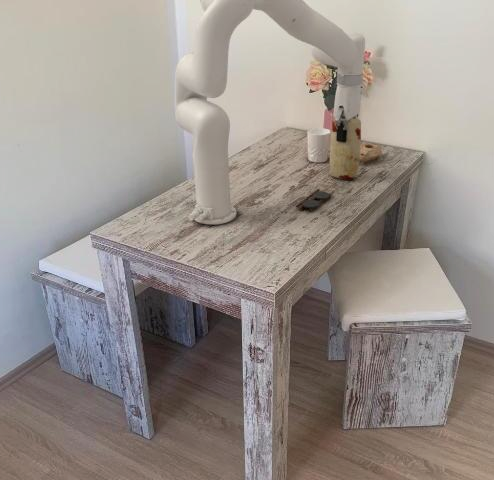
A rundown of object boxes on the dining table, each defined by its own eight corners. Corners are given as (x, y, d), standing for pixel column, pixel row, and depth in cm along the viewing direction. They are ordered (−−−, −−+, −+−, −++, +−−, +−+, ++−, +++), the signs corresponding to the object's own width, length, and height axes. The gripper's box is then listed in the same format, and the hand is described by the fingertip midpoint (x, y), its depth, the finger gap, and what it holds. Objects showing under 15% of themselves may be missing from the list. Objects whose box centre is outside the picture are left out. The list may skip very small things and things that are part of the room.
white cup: (327, 164, 198) (328, 135, 193) (305, 162, 200) (305, 134, 194) (330, 156, 205) (331, 128, 200) (308, 154, 206) (309, 127, 201)
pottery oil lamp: (348, 164, 197) (346, 143, 197) (364, 165, 207) (362, 145, 206) (371, 159, 192) (369, 138, 191) (386, 161, 202) (384, 141, 201)
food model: (326, 179, 187) (328, 117, 176) (332, 172, 192) (335, 112, 181) (355, 183, 184) (360, 121, 173) (360, 176, 189) (365, 115, 178)
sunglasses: (312, 213, 165) (312, 209, 164) (295, 209, 167) (295, 205, 167) (333, 196, 175) (333, 192, 174) (317, 192, 178) (317, 188, 177)
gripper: (350, 72, 179) (346, 129, 189) (325, 84, 167) (323, 144, 176) (372, 74, 176) (368, 132, 185) (349, 87, 163) (345, 148, 173)
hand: (346, 137), depth 181 cm, fingers closed on food model, 6 cm apart
